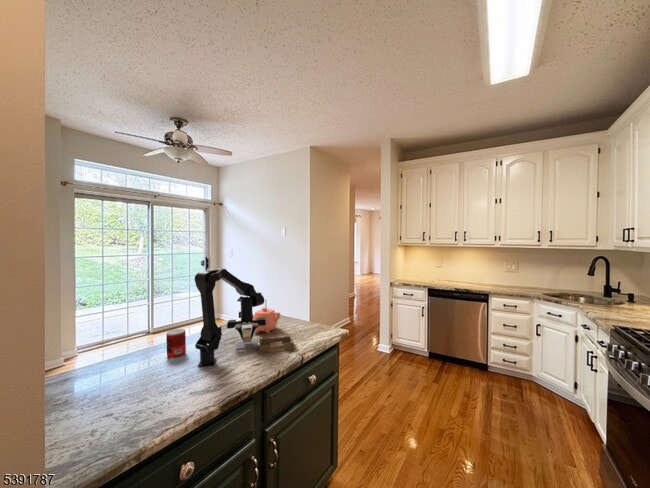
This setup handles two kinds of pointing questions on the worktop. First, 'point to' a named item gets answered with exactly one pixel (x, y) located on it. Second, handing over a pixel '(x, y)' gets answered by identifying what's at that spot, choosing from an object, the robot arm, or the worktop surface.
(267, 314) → the teapot
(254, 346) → the rubber mat
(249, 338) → the maple block
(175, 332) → the canned food
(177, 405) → the worktop surface
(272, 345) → the box
